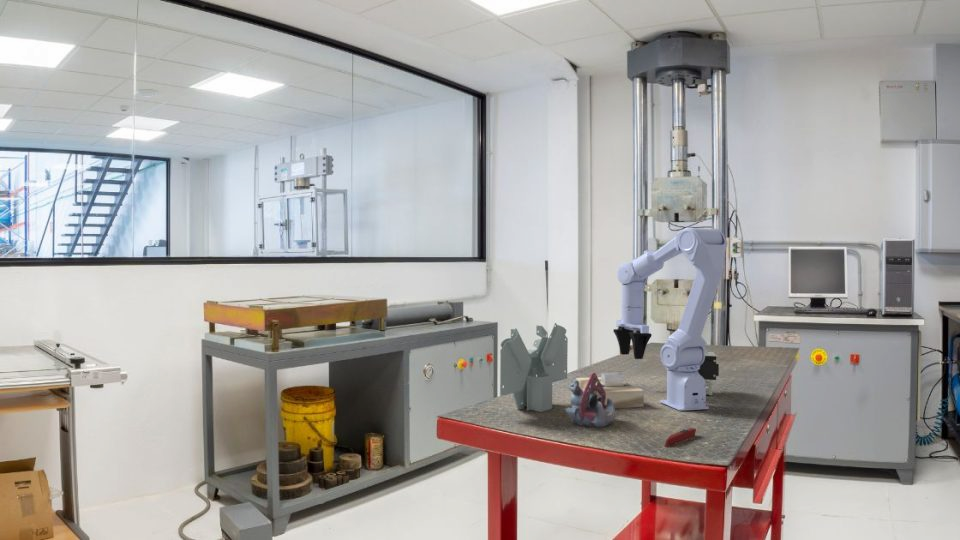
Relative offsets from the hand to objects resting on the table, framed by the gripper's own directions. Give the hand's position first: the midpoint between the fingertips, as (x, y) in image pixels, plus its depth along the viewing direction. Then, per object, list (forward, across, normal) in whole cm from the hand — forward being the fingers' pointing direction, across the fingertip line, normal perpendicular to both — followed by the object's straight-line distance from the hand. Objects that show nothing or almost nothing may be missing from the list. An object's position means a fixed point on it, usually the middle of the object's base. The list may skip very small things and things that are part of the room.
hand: (631, 356), depth 167 cm
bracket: (+10, +12, -32) cm, 36 cm away
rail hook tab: (+10, +10, -11) cm, 17 cm away
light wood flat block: (+9, +8, -11) cm, 16 cm away
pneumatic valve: (+10, +8, +18) cm, 22 cm away
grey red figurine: (+10, +27, -24) cm, 37 cm away
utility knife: (+10, +44, -13) cm, 47 cm away
